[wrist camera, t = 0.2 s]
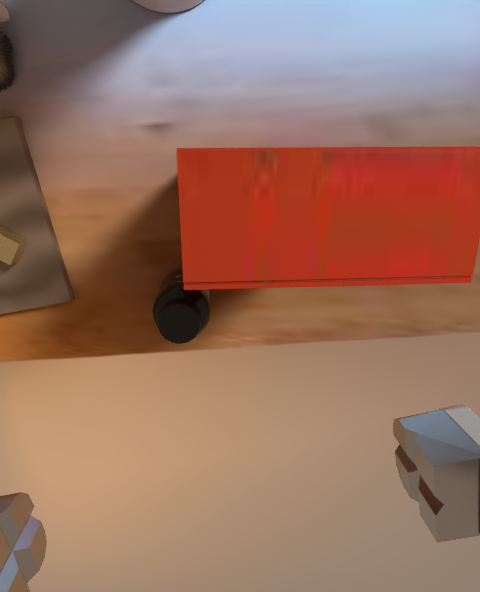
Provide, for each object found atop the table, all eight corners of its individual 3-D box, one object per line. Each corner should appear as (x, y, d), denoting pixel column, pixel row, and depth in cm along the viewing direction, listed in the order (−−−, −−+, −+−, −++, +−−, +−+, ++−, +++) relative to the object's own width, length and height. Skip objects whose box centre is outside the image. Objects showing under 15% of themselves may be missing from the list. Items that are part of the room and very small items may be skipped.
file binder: (328, 218, 55) (472, 283, 25) (199, 220, 54) (183, 290, 24) (332, 154, 53) (496, 140, 22) (197, 155, 52) (176, 141, 21)
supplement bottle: (211, 269, 56) (211, 296, 45) (209, 316, 58) (208, 353, 47) (161, 267, 56) (147, 293, 44) (160, 314, 58) (148, 351, 46)
